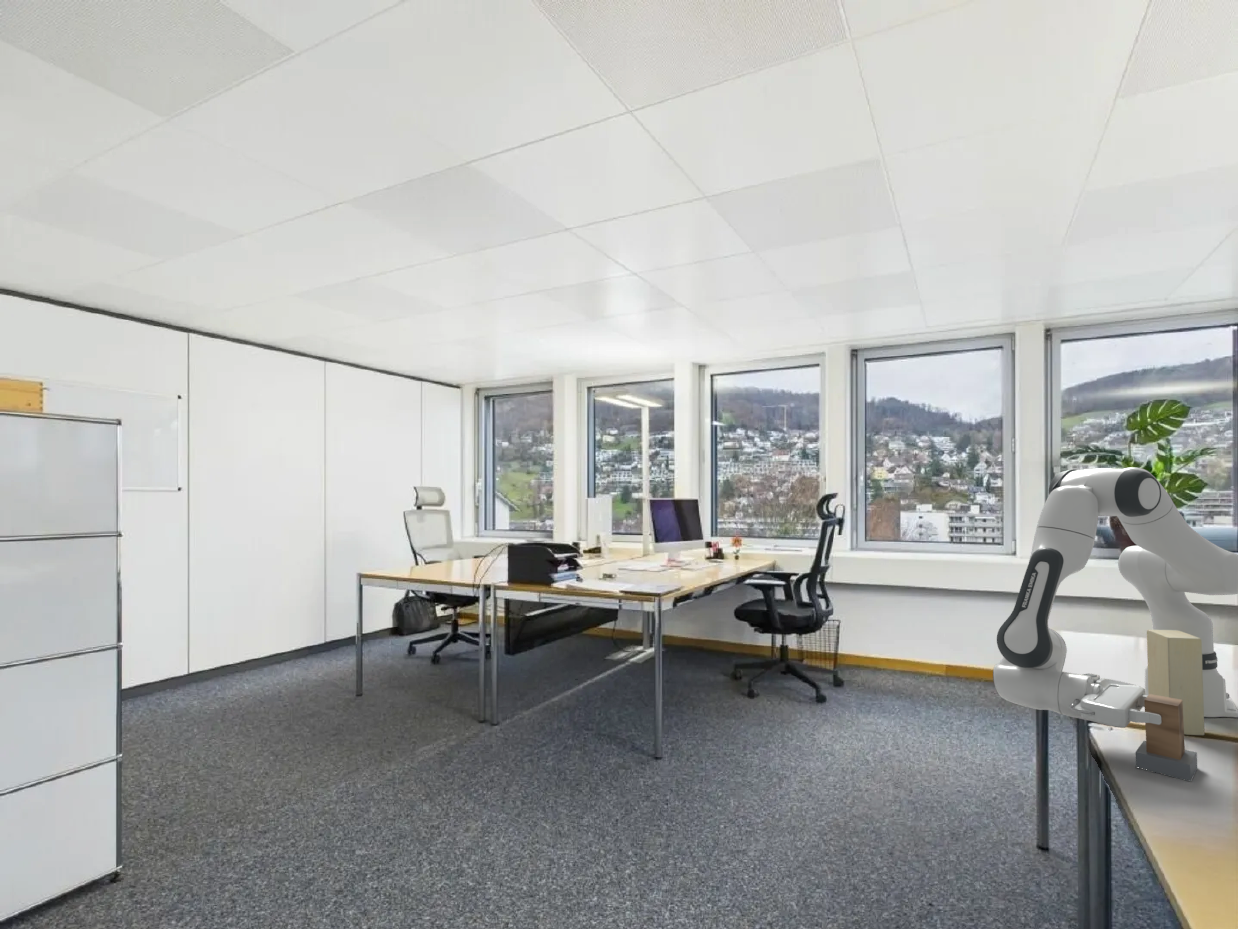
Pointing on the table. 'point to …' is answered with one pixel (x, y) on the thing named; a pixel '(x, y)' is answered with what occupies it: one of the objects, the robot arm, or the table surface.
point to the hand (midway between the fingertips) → (1166, 713)
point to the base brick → (1167, 763)
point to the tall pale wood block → (1178, 673)
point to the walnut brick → (1165, 727)
